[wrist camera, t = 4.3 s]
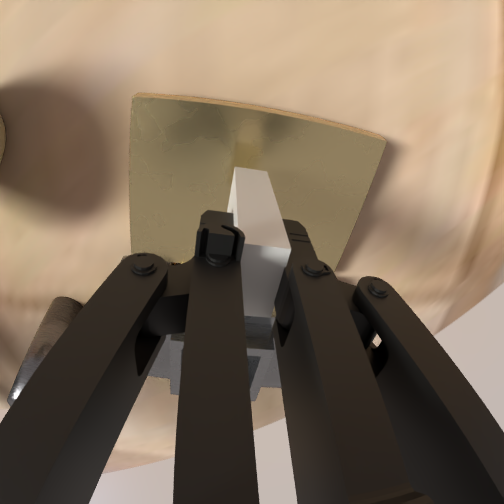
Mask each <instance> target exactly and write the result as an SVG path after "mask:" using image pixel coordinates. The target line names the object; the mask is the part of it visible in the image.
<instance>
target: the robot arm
mask: <svg viewBox="0 0 504 504" xmlns="http://www.w3.org/2000/svg"><path fill="white" fill-rule="evenodd" d="M274 306H275V311H276V318H275V321H274V324H273V327H272V330H271V333H270V336H269V339H268V345H271V343H272V340H273V338H274V341H275V348H276V354H277V361H278V368H279V375H280V382H281V389H282V396H283V403H284V410H285V417H286V424H287V431H288V438H289V445H290V452H291V458H292V466H293V474H294V480H295V488H296V495H297V503H298V504H504V432H503V431H502V429H501V428H500V426H499V425H498V423H497V422H496V420H495V419H494V417H493V416H492V414H491V413H490V411H489V410H488V409H487V407H486V406H485V404H484V403H483V401H482V400H481V399H480V397H479V396H478V394H477V393H476V392H475V390H474V389H473V388H472V386H471V385H470V383H469V382H468V381H467V379H466V378H465V377H464V375H463V374H462V373H461V371H460V370H459V369H458V367H457V366H456V365H455V363H454V362H453V361H452V359H451V358H450V357H449V355H448V354H447V353H446V352H445V350H444V349H443V348H442V346H440V344H439V343H438V341H437V340H436V339H435V338H434V336H433V335H432V334H431V333H430V331H429V330H428V329H427V328H426V326H425V325H424V324H423V323H422V322H421V320H420V319H419V318H418V317H417V315H416V314H415V313H414V312H413V311H412V309H411V308H410V307H409V306H408V305H407V304H406V302H405V301H404V300H403V299H402V298H401V296H400V295H399V294H398V293H397V292H396V291H395V290H394V288H393V287H392V286H390V285H389V284H388V283H387V282H385V281H383V280H382V279H380V278H377V277H371V276H366V277H362V278H361V279H360V280H359V282H358V284H357V286H354V285H351V284H347V283H344V282H341V281H339V280H337V279H336V276H335V274H334V272H333V270H332V269H331V267H330V266H328V265H327V264H326V263H324V262H322V261H320V260H318V258H317V255H316V253H315V250H314V248H313V245H312V243H311V240H310V238H309V237H308V233H307V231H306V228H305V227H304V226H303V225H302V224H300V223H299V222H298V221H294V220H288V219H282V217H281V214H280V211H279V207H278V204H277V201H276V198H275V195H274V192H273V188H272V185H271V182H270V179H269V176H268V173H267V171H261V170H255V169H248V168H241V167H235V168H234V174H233V180H232V186H231V192H230V197H229V203H228V209H227V212H221V211H213V210H207V211H205V212H204V213H203V214H202V215H201V219H200V225H199V228H198V230H197V235H196V244H195V254H194V256H193V258H192V259H190V260H189V261H187V262H185V263H182V264H178V265H170V266H168V265H167V262H166V261H165V260H164V259H163V258H162V257H160V256H158V255H155V254H152V253H145V252H144V253H135V254H132V255H129V256H127V257H126V258H125V259H123V260H122V261H121V263H120V264H119V265H118V266H117V267H116V268H115V269H114V271H113V272H112V273H111V274H110V275H109V277H108V278H107V279H106V280H105V281H104V282H103V284H102V285H101V286H100V287H99V288H98V290H97V291H96V292H95V293H94V294H93V296H92V297H91V298H90V299H89V301H88V302H87V303H86V304H85V306H84V307H83V308H82V309H81V311H80V312H79V313H78V314H77V316H76V317H75V318H74V319H73V321H72V322H71V323H70V325H69V326H68V327H67V328H66V330H65V331H64V332H63V334H62V335H61V336H60V338H59V339H58V340H57V342H56V343H55V344H54V346H53V347H52V348H51V350H50V351H49V352H48V354H47V355H46V356H45V358H44V359H43V361H42V362H41V363H40V365H39V366H38V368H37V369H36V370H35V372H34V373H33V375H32V376H31V378H30V379H29V380H28V382H27V383H26V385H25V386H24V388H23V389H22V391H21V392H20V394H19V395H18V397H17V398H16V400H15V401H14V403H13V404H12V406H11V407H10V409H9V410H8V412H7V414H6V415H5V417H4V418H3V420H2V422H1V423H0V504H89V502H90V499H91V497H92V495H93V493H94V490H95V488H96V486H97V483H98V481H99V479H100V477H101V474H102V472H103V470H104V468H105V465H106V463H107V461H108V459H109V456H110V454H111V452H112V450H113V448H114V445H115V443H116V441H117V439H118V437H119V435H120V432H121V430H122V428H123V426H124V424H125V422H126V420H127V417H128V415H129V413H130V411H131V409H132V407H133V405H134V403H135V401H136V398H137V396H138V394H139V392H140V390H141V388H142V386H143V384H144V382H145V380H146V378H147V376H148V374H149V372H150V370H151V367H152V365H153V363H154V361H155V359H156V357H157V355H158V353H159V351H160V349H161V347H162V345H163V343H164V341H165V339H166V335H170V334H177V333H183V332H185V336H184V346H183V356H182V366H181V377H180V389H179V401H178V415H177V429H176V446H175V465H174V490H173V492H174V493H173V504H259V494H258V482H257V472H256V460H255V447H254V436H253V423H252V411H251V398H250V386H249V373H248V360H247V346H246V333H245V319H244V316H256V317H269V318H271V315H272V312H273V309H274ZM376 334H378V335H379V337H380V338H381V340H382V341H381V343H380V345H379V346H378V347H376V346H375V345H374V343H373V342H372V341H373V339H374V338H375V336H376Z"/></svg>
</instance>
